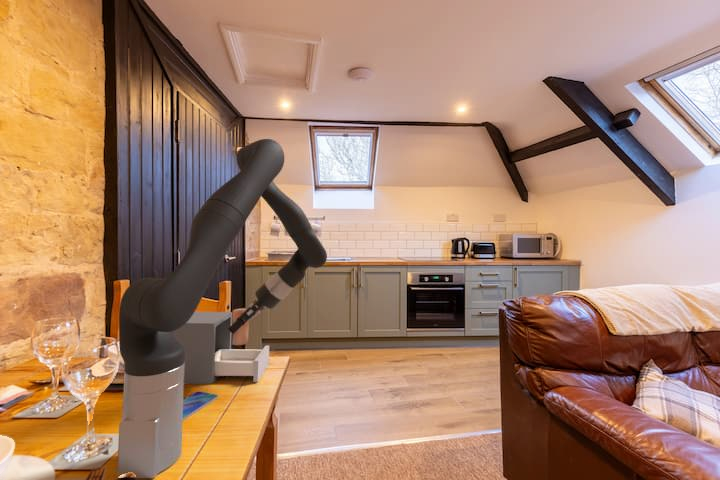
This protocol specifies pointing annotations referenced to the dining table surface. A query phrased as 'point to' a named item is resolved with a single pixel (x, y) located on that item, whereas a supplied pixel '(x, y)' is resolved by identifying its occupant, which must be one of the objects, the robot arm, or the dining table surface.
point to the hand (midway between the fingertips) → (234, 328)
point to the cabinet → (203, 344)
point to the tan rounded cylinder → (240, 329)
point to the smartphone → (196, 402)
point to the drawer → (241, 362)
